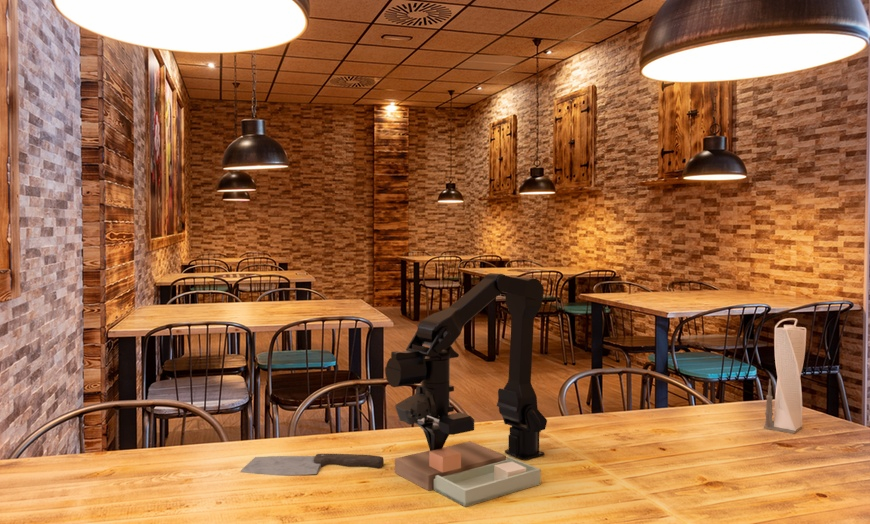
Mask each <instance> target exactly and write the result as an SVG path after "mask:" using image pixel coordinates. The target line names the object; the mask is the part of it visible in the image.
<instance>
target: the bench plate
mask: <svg viewBox="0 0 870 524" xmlns="http://www.w3.org/2000/svg"><path fill="white" fill-rule="evenodd" d="M447 447H448V448H450V449H453V450H455V451H457V452H460V453H461V468H459V469H455V470H451V471H447V472H443V473H442V472H440V471H438V470H436V469H434V468H432V467H430V466H429V451H430V450H426V451H422V452H417V453H414V454H413V453H412V454H408V455H405V456H400V457H399V456H398V457H395V458H394V474H396V475H398V476H399V477H402V478H404V479H405V480H408V481H409V482H411V483H413V484H415V485H417V486H418V487H421V488H422V489H424V490H426V491H427V492H429V491H434V479H435V476H437V475H439V476H441V477H443V476H447V475H451V474H454V473H458V472H462V471H466V470H470V469H474V468H477V467H481V466H485V465H489V464H493V463H497V462H500V461H504V460H507V455H506V454H505V453H500V452H498V451H496V450H493V449H491V448H489V447H486V446H483V445H480V444H479V443H475V442H473V441H466V442H460V443H457V444H456V443H455V444H452V445H448V446H443V448H447Z"/></svg>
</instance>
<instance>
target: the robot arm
mask: <svg viewBox="0 0 870 524" xmlns="http://www.w3.org/2000/svg"><path fill="white" fill-rule="evenodd" d="M544 287H545V286H544V285H543V284H542V283H541V281H540V280H539V278H533V277H523V276H522V277H521V276H515V277H513V276H508V275H506V274H504V273H491V272H490V273H487V274H485V276H484V277H483V278H482V280H480V281H479V282H478V283H477V284H476V285H474V286H473V287H472V288H471V289H469V290H468V291H467V292H466V293H465V294H463V295H462V296H461V297H459V298H458V299H457V300H456V301H455V302H453V304H451V305H450V306H448V307H447V308H445V309H442V310H439V311H437V312H434V313H432V314H430V315H428V316H426V317H424V318H423V319H422V320H421V321H420V322H419V323H418V325H417V329H416V331H415V334H414V335H413V337H412V338H411V340H410V342H409V343H408V345H407V347H406V349H405V350H401V351H398V350H396V351H391V353H390V354H391V355H390V356H391V357H390V358H388V361H387V362H386V366H385V367H384V371H385V372H384V373H385V378H386V381H387V383H388V385H389V386H390V387H392V388H400V387H405V386H412V385H417V386H416V388H415V394H413V395H411V396H408V397H407V398H405V399H402V401H400V402H398V403H396V404H395V406H394V407H395V410H396V414H397V417H398V419H399V421H401V422H404V423H406V424H408V425H414V424H416V425H417V426H418V427H420V429H422V430H423V433H424V436H425V438H426V442H427V446H428V448H429V451H433V450H437V449H442V448H443V447H445V443H446V441H447V439H448V438H449V436H450V435H451V436H454V435H458V434H463V433H468V432H472V431H475V419H474V418H473V417H472V416H471V415H469V414H466V413H463V412H454V411H455V409H454V408H455V406H454V405H451V404H450V396H451V394H450V392H455V386H454V385H451V383H450V381H451V380H450V379H451V376H450V375H451V373H450V371H451V370H450V369H451V368H450V367H451V363H450V361H451V359H457V358H458V357H460V355H459V353H458V352H457V351H456V350H454V349H453V346H452V345H453V344H454V343H455V342H456V341H457V340H458V338H459V337H460V336H461V334H462V331H463V327H465V325H466V324H467V323H468V322H469V321H471V319H473V318H474V317H475V316H476V315H477V314H478V313H480V312H481V311H482V310H483V309H485V308H486V306H488V305H489V304H490V303H491V302H492V301H493V300H495V299H496V298H497V297H498V296H500V295H503V296H505V297H504V298H505V305H506V307H507V310H508V312H509V314H510V316H511V323H510V340H509V341H510V342H509V343H510V345H509V363H508V379H507V383H506V384H505V385H504V387H503V388H500V387H499V388H498V390H497V398H498V399H497V403H496V407H498V412H499V414H500V415H501V417H502V419H503V423H504V425H508V426H510V427H509V434H508V448H507V449H505V450H504V454H507V455H510V456H513V457H515V458H518V459H520V460H522V461H523V460H524V461H525V460H529V459H533V458H537V457H541V456H544V455H545V452H544V451H541V450H540V433H541V432H542V431H545V430H546V427H547V424H548V419H547V418H546V417H545V416H544V414H542V413H541V411H540V410H539V409H538V398H537V394H536V391H535V389H534V387H533V385H532V364H533V345H534V343H533V342H534V324H535V323H534V322H535V318H536V316H537V315H538V313H539V311H540V310H541V307H542V304H543V300H544V293H545V291H544V290H545V289H544ZM452 412H454V413H452Z"/></svg>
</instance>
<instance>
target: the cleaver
mask: <svg viewBox="0 0 870 524" xmlns="http://www.w3.org/2000/svg"><path fill="white" fill-rule="evenodd" d="M384 462H385V461H384V457H383V456H381V455H380V456H379V455H371V454H353V453H350V454H349V453H317V454H315V455H277V456H276V455H275V456H274V455H273V456H255V457H253V458H252V459H251V460H250V461H249V462H248V463H247V464H246V465H245V466H244V467H242V469H241V470H240V471H239V473H243V474H254V475H263V476H265V475H266V476H268V475H269V476H305V475H306V476H307V475H317V474H318V473H319V472H320V470H321V468H323V467H325V466H328V465H330V466H333V465H335V466H343V467H350V468H351V467H359V468H360V467H361V468H362V467H364V468H365V467H366V468H373V469H381V468H382V466H383V465H384Z"/></svg>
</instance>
